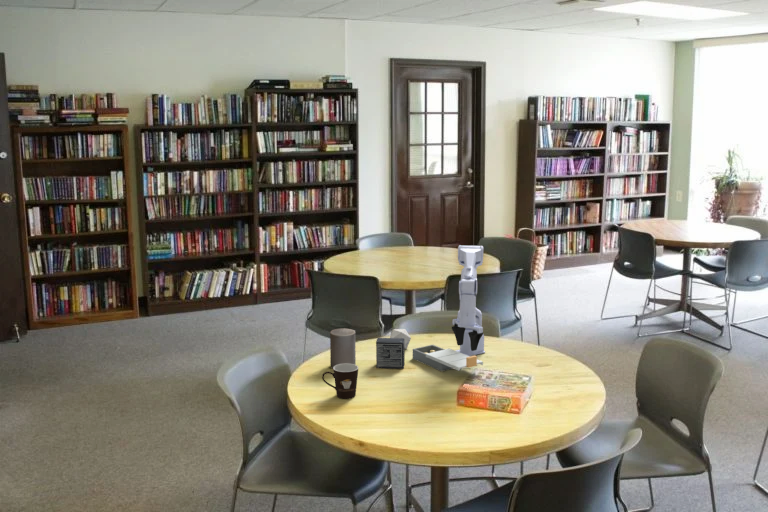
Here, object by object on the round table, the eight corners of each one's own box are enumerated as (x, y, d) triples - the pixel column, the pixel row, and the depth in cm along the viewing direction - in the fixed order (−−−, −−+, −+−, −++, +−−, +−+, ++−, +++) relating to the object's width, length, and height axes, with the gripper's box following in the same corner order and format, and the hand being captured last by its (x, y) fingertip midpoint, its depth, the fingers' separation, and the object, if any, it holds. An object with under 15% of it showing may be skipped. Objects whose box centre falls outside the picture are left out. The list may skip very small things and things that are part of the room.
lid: (449, 351, 294) (449, 341, 293) (484, 365, 277) (484, 354, 277) (425, 356, 287) (425, 346, 286) (460, 371, 271) (460, 360, 270)
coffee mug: (362, 392, 260) (362, 365, 258) (353, 401, 252) (353, 373, 250) (331, 388, 264) (330, 361, 262) (321, 397, 256) (320, 369, 254)
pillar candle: (325, 365, 288) (324, 327, 285) (346, 360, 294) (346, 323, 291) (339, 372, 280) (339, 333, 278) (361, 367, 286) (360, 329, 283)
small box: (405, 363, 290) (405, 337, 288) (403, 369, 284) (403, 342, 282) (377, 362, 291) (377, 336, 289) (375, 368, 285) (375, 341, 283)
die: (405, 354, 304) (416, 332, 306) (387, 343, 303) (398, 322, 306) (401, 355, 312) (411, 334, 314) (383, 345, 311) (393, 324, 313)
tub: (432, 354, 301) (432, 344, 301) (462, 366, 287) (462, 356, 286) (412, 358, 296) (412, 349, 295) (441, 371, 281) (441, 361, 281)
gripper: (446, 309, 277) (445, 344, 280) (472, 317, 266) (472, 354, 268) (460, 306, 281) (460, 341, 284) (487, 314, 270) (486, 351, 272)
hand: (466, 347), depth 276 cm, fingers open, 7 cm apart
